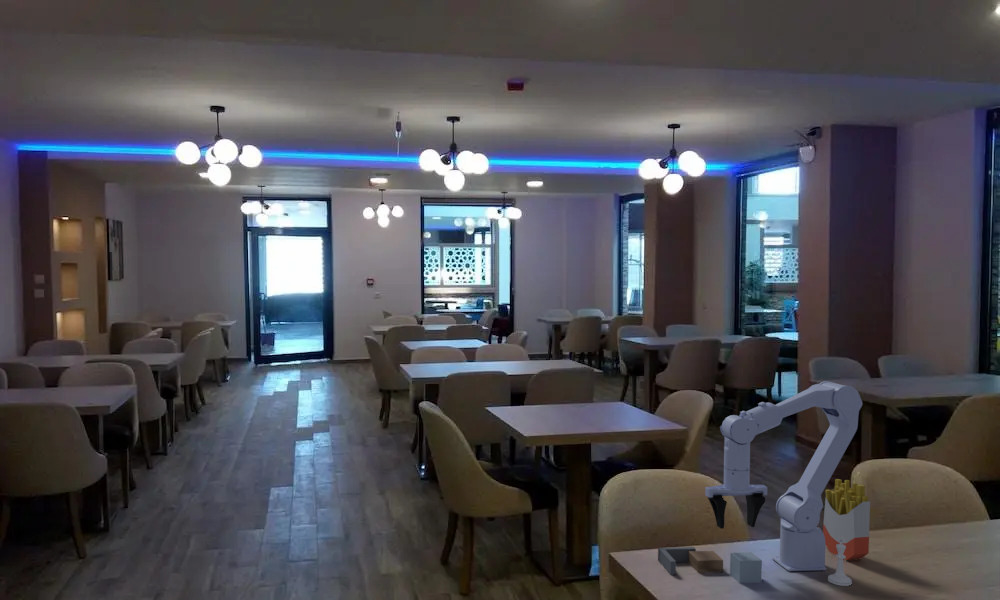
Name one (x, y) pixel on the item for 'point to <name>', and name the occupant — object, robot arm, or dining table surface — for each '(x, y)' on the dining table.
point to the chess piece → (840, 567)
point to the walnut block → (705, 561)
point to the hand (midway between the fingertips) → (735, 526)
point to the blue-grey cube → (745, 567)
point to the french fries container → (847, 519)
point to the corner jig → (673, 557)
